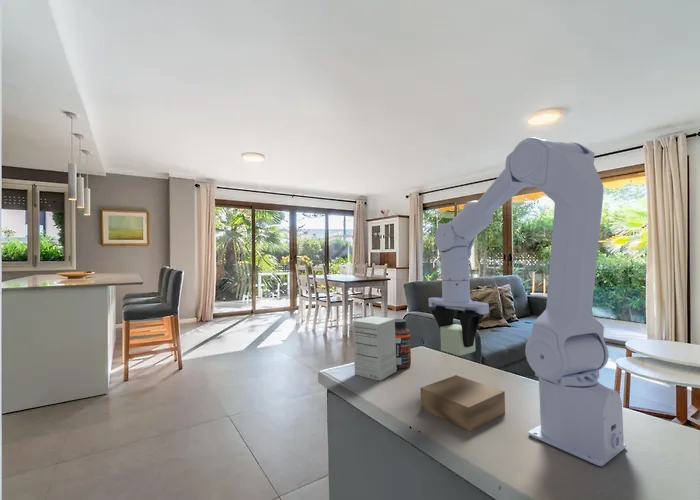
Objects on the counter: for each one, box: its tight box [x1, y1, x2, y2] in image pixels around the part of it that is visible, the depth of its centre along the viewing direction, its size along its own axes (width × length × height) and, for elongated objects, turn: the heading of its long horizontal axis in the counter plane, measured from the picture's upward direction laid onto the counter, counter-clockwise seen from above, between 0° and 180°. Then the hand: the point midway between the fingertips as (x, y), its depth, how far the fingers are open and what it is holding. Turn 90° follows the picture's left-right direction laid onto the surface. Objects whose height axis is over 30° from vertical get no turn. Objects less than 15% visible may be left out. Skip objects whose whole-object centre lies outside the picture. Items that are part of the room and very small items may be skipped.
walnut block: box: [419, 374, 506, 432], centre depth 59 cm, size 10×10×4 cm
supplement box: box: [352, 315, 397, 382], centre depth 79 cm, size 7×7×13 cm
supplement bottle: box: [394, 318, 412, 369], centre depth 84 cm, size 6×6×11 cm
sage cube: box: [439, 323, 476, 356], centre depth 72 cm, size 5×5×5 cm
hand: (457, 343), depth 72 cm, fingers closed on sage cube, 5 cm apart
